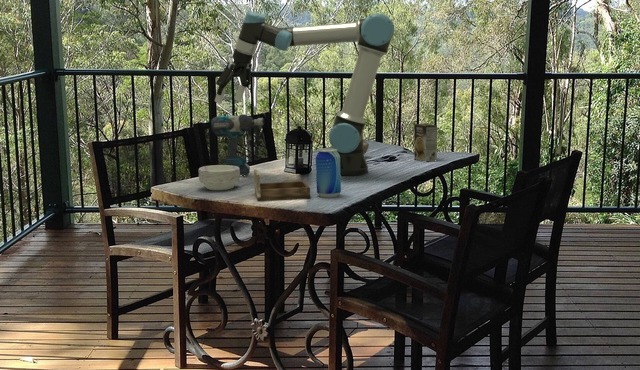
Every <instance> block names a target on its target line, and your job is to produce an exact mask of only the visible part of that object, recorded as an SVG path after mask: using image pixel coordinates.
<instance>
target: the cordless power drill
mask: <svg viewBox="0 0 640 370" xmlns="http://www.w3.org/2000/svg"><path fill="white" fill-rule="evenodd" d="M264 125H265V118H264V117H258V118H257V119H256V118H255V119H254V118H253V117H252V116H249V115H247V114H243V113H242V114H239V115H221V116H214V117H213V118H212V119H211V120H210V127H211V131H212V132H213V134H214V136H216V137H217V138H221V137H227V138H228V140H227V155H226V156H225V157H224V158H223V159H224V160H223V165H231V166H237V167H239V168H240V175H242V176H243V177H245V176H244V175H246V176H247V175H249V174H250V169H251V168H250V165H249V164H248V163H247V158H245V157H244V156H239V155H238V154H237V149H238V145H239V142H241V141H242V140H243V139H242V135H245V133H246V132H248V131H250V130H252V129H254V127H259V128H262V127H263V126H264Z"/></svg>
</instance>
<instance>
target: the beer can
mask: <svg viewBox="0 0 640 370" xmlns="http://www.w3.org/2000/svg"><path fill="white" fill-rule="evenodd" d="M317 151H318V152H317V154H316V155H315V172H316V173H315V177H316V178H315V179H316V193H317V194H318V196H319V197H321V198H335V197H337V198H338V196H340V194H341V193H342V183H341V182H342V181H341V179H342V178H341V176H342V175H341V171H340V155H339V153H338V152H337V149H330V148H322V149H318V150H317Z"/></svg>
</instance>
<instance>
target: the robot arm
mask: <svg viewBox="0 0 640 370" xmlns="http://www.w3.org/2000/svg"><path fill="white" fill-rule="evenodd" d="M394 34H395V25H394V23H393V21H392V20H391V19H390V17H389V16H388V15H387V14H383V13H376V12H375V13H372V14H370V15H368V16H367V17H365V18H361V19H357V20H356V21H352V22H341V23H339V22H338V23H330V24H329V23H327V24H326V23H325V24H314V25H305V26H293V27H292V26H291V27H278V26H275V25H272V24H269V23H268V22H266V16H265V15H263V14H261V13H258V12H256V11H250V10H249V11H248V12H247V13H246V14H245V17H244V19H243V22H242V25H241V29H240V32H239V35H238V38H237V42H236V44H235V49H234V50H233V54H232V60H233V62H230V61H228V62H227V63H226V66H225V68H224V69H223V71H222V73H221V74H220V76H219V78H218V79H217V81H216V82H215V84H216V85H217V86H218V88H217V92H216V95H215V98H214V102H215V103H217V104H219V105H221V104H222V101H223V99H224V95H225V92H226V87H227V85H228V84H229V83H230V82H231V80H232V79H233V78H234V77H236V76H239V80H240V84H239V85H238V88H237V91H236V95H235V96H234V101H236V102H238V103H241V102H242V100H243V97H244V93H245V90H246V88H249V87H250V85H251V80H252V79H251V78H252V75H251V74H252V66H253V64H252V60H253V57H254V56H253V55H254V53H255V52H256V48H257V45H258V42H261V43H263V44H266V45H268V46H270V47H273V48H275V49H276V50H281V51H284V52H285V51H287V50H288V49H289V48H290V47H298V46H315V45H326V44H327V45H328V44H341V43H355V42H357V45H356V46H357V48H358V49H359V52H358V56H357V59H356V62H355V65H354V69H353V72H352V75H351V79H350V82H349V85H348V89H347V93H346V95H345V99H344V101H343V106H342V109H341V111H338V112H337V113H336V115H335V117H334V118H333V125H332V128H331V130H330V131H329V135H328V140H329V144H330V145H331V147H333V148H334V149H337V152H338V153H339V155H340V171H341V176H351V177H352V176H361V175H366V174H369V166H368V163H367V160H366V157H365V154H363V140H364V128H365V125H366V121H365V120H366V119H365V118H364V115H365V112H366V109H367V106H368V103H369V99H370V96H371V93H372V89H373V86H374V84H375V83H374V82H375V79H376V77H377V73H378V69H379V66H380V63H381V60H382V58H383V57H384V56H386V55H387V54H388V52H389V51H388V50H389V48H390V45H391V41H392V39H393V38H394Z"/></svg>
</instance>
